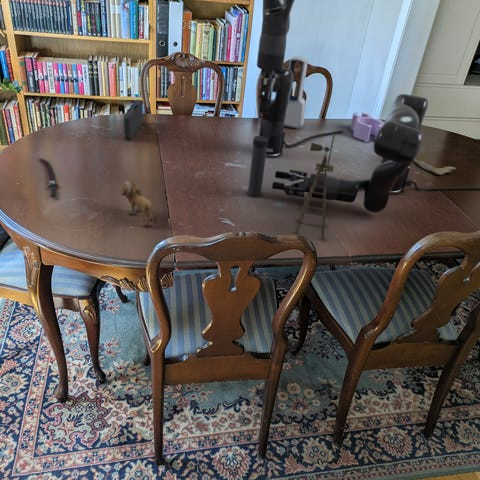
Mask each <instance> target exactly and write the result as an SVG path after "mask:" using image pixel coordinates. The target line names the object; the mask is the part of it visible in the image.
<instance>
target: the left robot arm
mask: <svg viewBox="0 0 480 480" xmlns="http://www.w3.org/2000/svg"><path fill="white" fill-rule="evenodd" d="M295 1H296V0H262V22H261V29H260V30H261V31H260V36H259V41H258V51H257V60H256V67H257V68H258V69H261V70H260V86H259V96H258V99H259V100H260V101H259V110H258V112H259V113H260V123H259V131H258V136H264V137H267V138H268V146H267V151H266V158H277V157H279V156H281V155H282V154H283V149H284V147H285V148H294V147H296V146H298V145H301V144H302V143H305V142H306V141H309V140H311V139H315V138H319V137H323V136H324V137H325V136H328V135H330V136H331V135H333V134H334V133H335V134H342V133H343V130H336V131H330V132H324V133H323V132H322V133H319V134H314V135H310V136H308V137H305V138H304V139H302V140H299V141H297V142H295V143H293V144H287V142H286V140H285V136H286V130H284V128H285V126H284V123H285V116H286V109H287V106H288V103H289V99H290V95H292V94H291V93H292V89H293V83H294V74H293V73H292V71H291V70H290V69H289V67H288V68H287V67H284V64H285V55H286V49H287V36H288V34H289V31H290V27H291V26H290V25H291V11H292V9H293V6H294V3H295ZM273 93H274V94H275V95H274V96H275V97H274V98H272V94H273Z"/></svg>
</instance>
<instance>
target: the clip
mask: <svg viewBox="0 0 480 480" xmlns="http://www.w3.org/2000/svg"><path fill="white" fill-rule="evenodd" d="M358 114H359V113H358V112H353V114H352V118H351V122H350V126H349V129H350V130H351V131H353V132H352V136H353V137H354V138H356V139H358V140H361V141H363V142H364V143H368V142H369V140H370V135H372V136H374V139H373V140H374V141H375V138H376V135H377V133H378V131H379V129H380V128H381V127H382V125H383V124H384V123H385V122H384V121H383V120H380V119H377V118H374V117H372V115H371V114H369V113H366V112H361V115H358ZM374 141H373V142H374Z"/></svg>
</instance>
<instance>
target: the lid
mask: <svg viewBox="0 0 480 480" xmlns="http://www.w3.org/2000/svg"><path fill="white" fill-rule="evenodd" d="M253 145H254V146H256V147H267V146H268V138H267V137H264V136H259V135H256V136H254V137H253V140H252V146H253Z"/></svg>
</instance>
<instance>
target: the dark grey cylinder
mask: <svg viewBox="0 0 480 480" xmlns="http://www.w3.org/2000/svg"><path fill="white" fill-rule="evenodd" d="M266 151H267V147H256V146H254V145H253V144H252V154H251V164H250V171H249V180H248V189H247V195H248V196H250V197H252V198H259V197H261V195H262V187H263V182H264V181H263V180H264V173H265V166H266V165H265V164H266V158H267V157H266Z"/></svg>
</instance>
